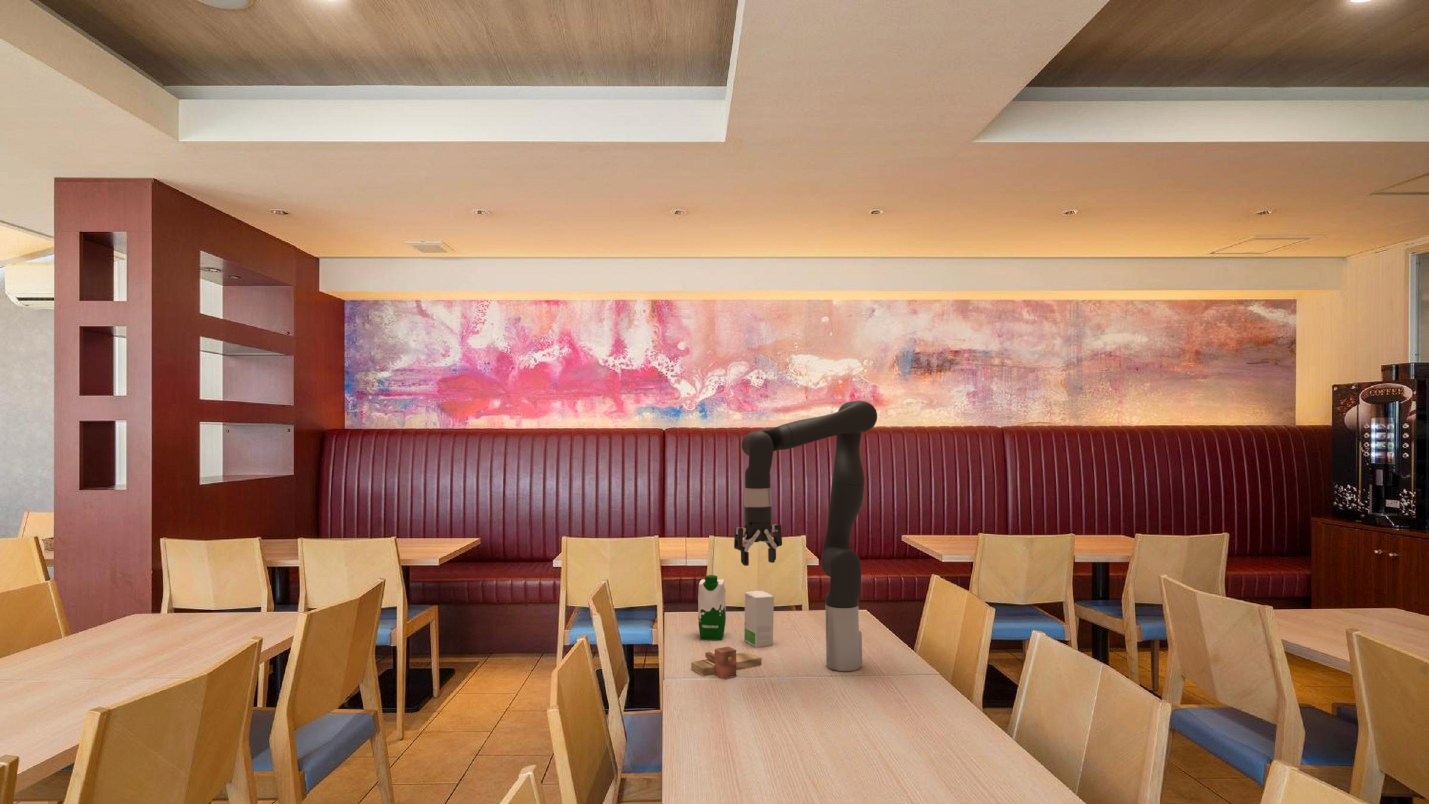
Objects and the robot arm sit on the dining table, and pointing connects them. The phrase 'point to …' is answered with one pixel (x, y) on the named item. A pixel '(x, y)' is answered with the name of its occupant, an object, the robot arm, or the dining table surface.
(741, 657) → the board
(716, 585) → the milk carton
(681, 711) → the dining table surface
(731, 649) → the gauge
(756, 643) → the skincare box
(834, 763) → the dining table surface
